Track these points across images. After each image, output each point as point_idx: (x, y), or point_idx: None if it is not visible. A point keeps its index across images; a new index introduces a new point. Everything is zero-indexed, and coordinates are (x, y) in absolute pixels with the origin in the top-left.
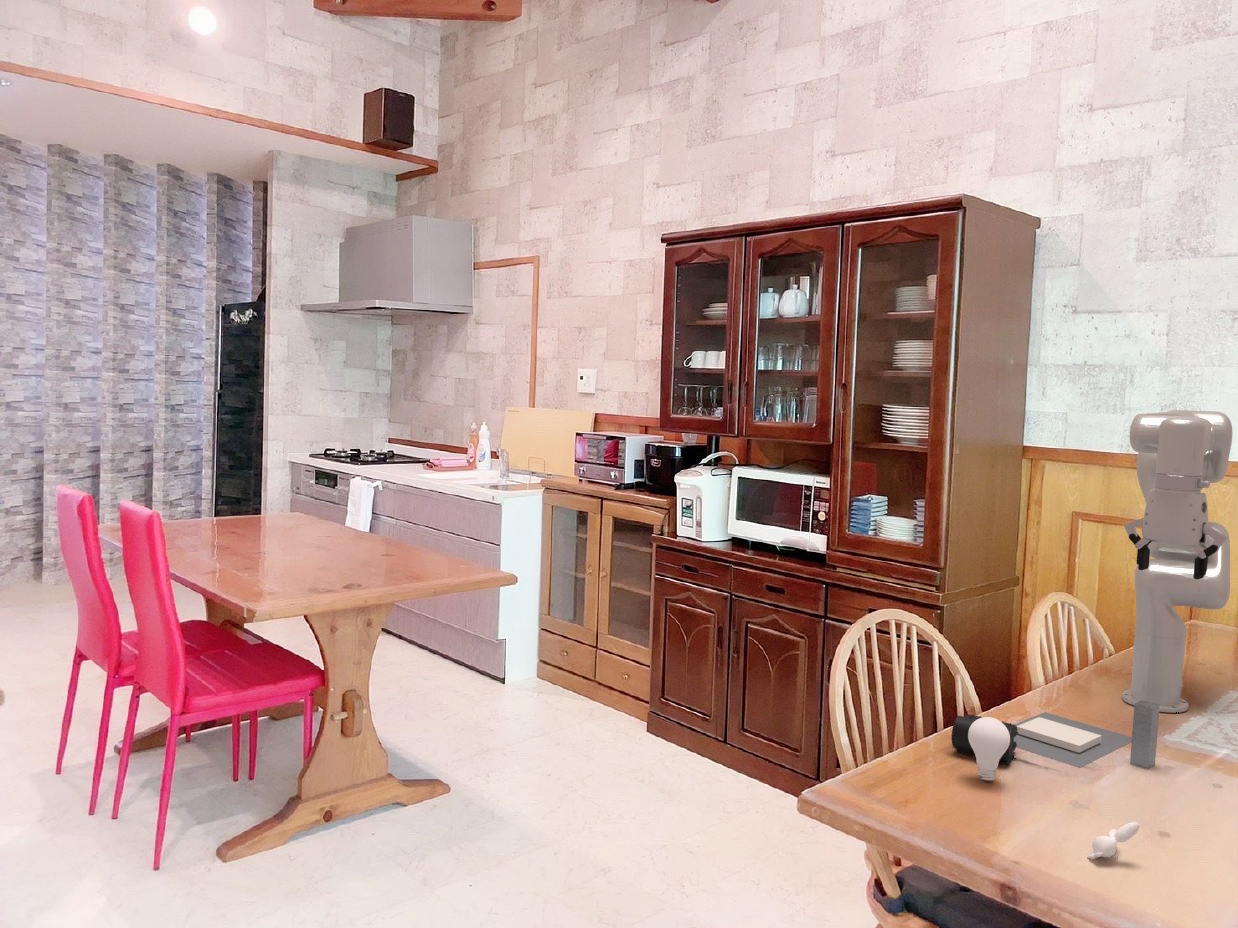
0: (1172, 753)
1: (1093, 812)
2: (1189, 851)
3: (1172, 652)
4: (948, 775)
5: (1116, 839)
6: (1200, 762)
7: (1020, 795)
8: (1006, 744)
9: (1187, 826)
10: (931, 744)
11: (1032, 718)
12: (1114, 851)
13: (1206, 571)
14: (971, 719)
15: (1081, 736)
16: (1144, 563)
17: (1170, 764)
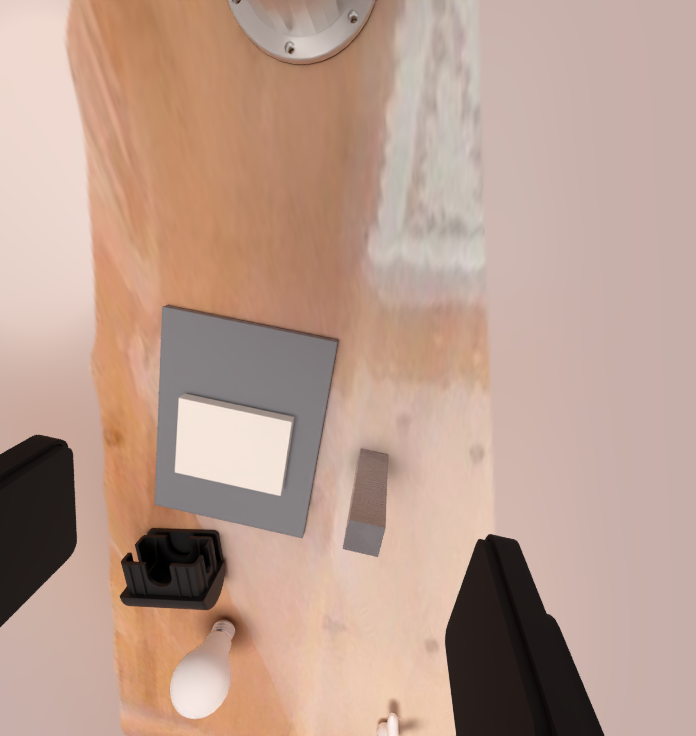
0: (398, 346)
1: (353, 635)
2: None
3: None
4: (188, 630)
5: None
6: (445, 360)
7: (273, 637)
8: (229, 687)
9: None
10: (119, 552)
11: (163, 363)
12: None
13: (556, 634)
14: (141, 600)
15: (268, 450)
16: (34, 558)
17: (404, 406)
